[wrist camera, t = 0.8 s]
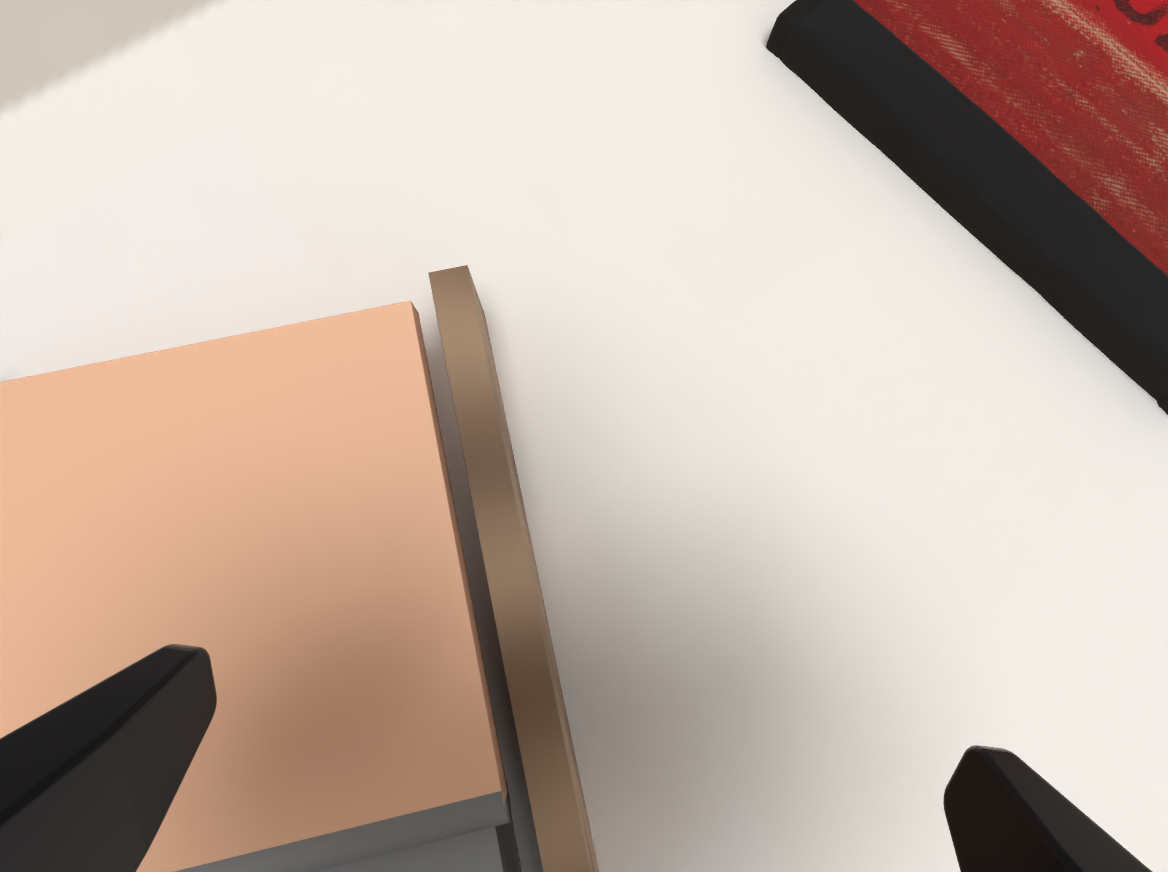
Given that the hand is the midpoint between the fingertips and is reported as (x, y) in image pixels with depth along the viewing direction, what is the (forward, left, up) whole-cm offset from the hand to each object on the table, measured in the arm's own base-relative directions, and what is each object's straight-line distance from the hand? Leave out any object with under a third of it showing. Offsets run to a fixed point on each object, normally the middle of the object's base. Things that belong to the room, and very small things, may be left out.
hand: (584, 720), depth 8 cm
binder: (+21, -20, -15) cm, 32 cm away
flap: (-2, +9, -14) cm, 17 cm away
